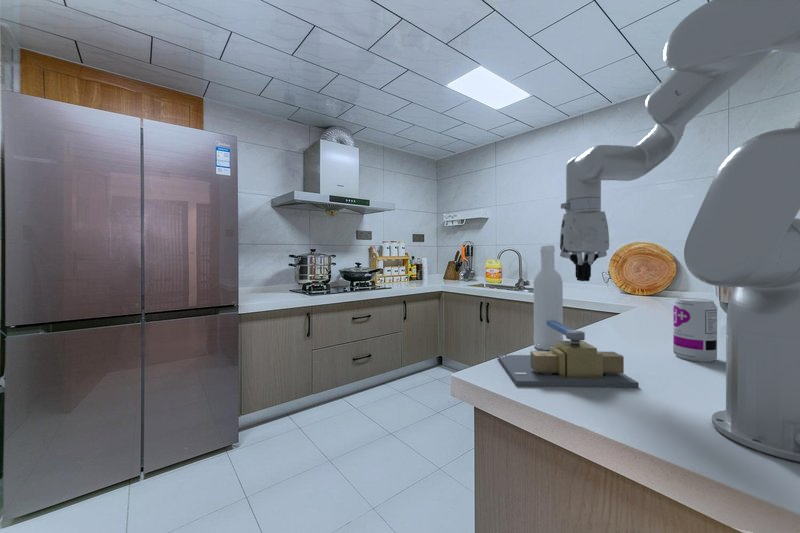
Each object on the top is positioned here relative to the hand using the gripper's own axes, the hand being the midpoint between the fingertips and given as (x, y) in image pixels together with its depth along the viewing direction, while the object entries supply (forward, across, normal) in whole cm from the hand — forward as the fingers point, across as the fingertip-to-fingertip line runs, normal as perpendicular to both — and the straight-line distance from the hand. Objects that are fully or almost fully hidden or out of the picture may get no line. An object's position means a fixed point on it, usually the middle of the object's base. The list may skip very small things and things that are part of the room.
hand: (583, 280), depth 80 cm
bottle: (+21, -4, +13) cm, 25 cm away
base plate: (+20, -9, -7) cm, 24 cm away
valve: (+20, -7, -11) cm, 24 cm away
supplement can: (+21, +29, +4) cm, 36 cm away
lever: (+12, -7, -5) cm, 15 cm away
